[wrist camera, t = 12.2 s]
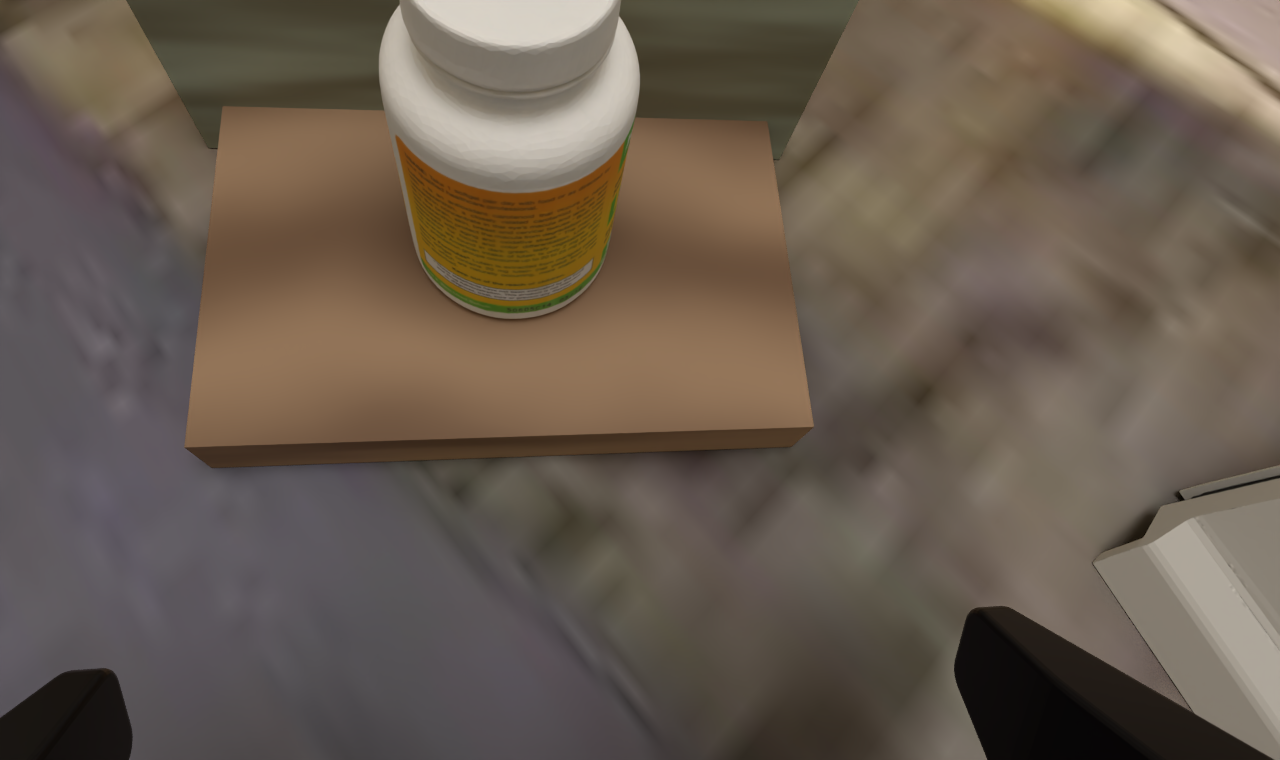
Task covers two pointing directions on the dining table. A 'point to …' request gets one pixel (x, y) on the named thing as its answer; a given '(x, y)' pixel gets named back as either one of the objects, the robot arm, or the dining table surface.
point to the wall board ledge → (446, 331)
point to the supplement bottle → (510, 143)
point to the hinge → (1212, 600)
